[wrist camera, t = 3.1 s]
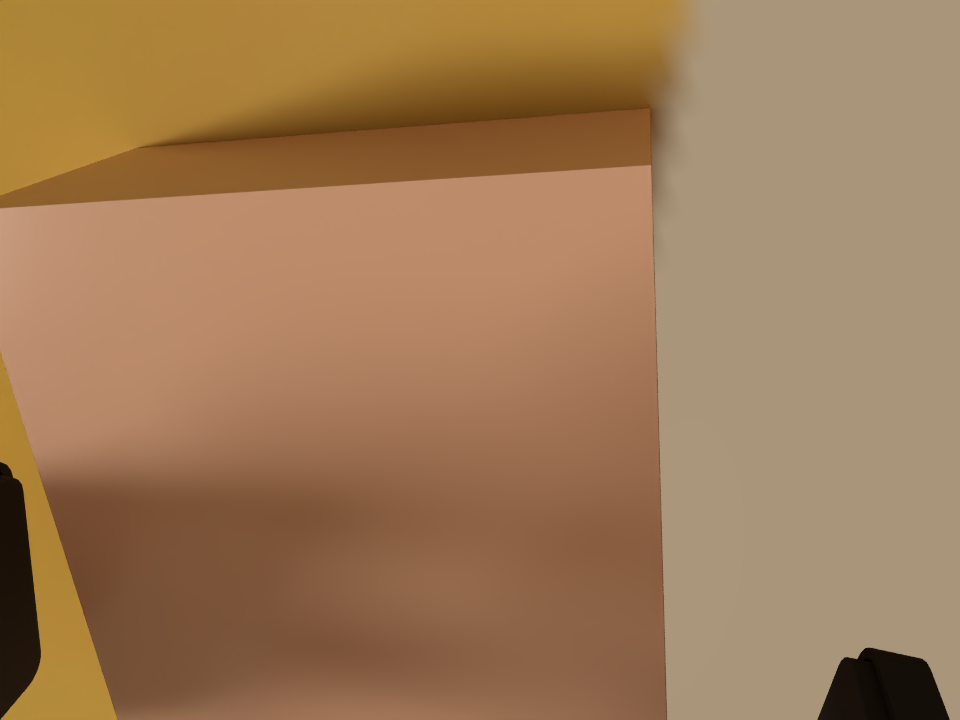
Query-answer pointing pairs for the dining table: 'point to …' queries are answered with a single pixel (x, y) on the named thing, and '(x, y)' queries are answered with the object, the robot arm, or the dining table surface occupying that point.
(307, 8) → the dining table surface
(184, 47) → the dining table surface
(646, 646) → the slab
